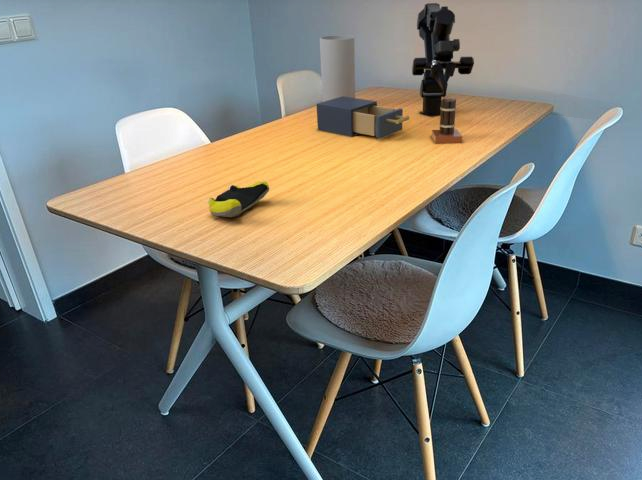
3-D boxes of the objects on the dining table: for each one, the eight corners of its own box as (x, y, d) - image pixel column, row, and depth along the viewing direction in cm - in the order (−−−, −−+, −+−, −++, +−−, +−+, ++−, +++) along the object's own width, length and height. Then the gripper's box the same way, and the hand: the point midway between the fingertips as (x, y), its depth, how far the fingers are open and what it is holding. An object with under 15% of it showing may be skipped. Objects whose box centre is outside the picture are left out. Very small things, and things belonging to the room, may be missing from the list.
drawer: (414, 132, 177) (415, 110, 174) (391, 141, 169) (392, 119, 165) (369, 123, 187) (369, 103, 184) (345, 132, 179) (345, 110, 176)
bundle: (435, 132, 172) (437, 99, 167) (446, 130, 174) (448, 97, 169) (446, 135, 168) (448, 102, 164) (457, 133, 171) (459, 100, 166)
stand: (431, 136, 176) (431, 129, 175) (456, 135, 176) (457, 129, 175) (435, 143, 169) (435, 136, 168) (461, 142, 169) (462, 136, 168)
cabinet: (376, 127, 186) (377, 101, 182) (351, 136, 177) (350, 109, 173) (343, 121, 195) (343, 96, 190) (317, 129, 186) (316, 103, 181)
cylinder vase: (362, 107, 213) (361, 36, 200) (339, 113, 205) (337, 40, 193) (338, 102, 220) (336, 34, 208) (316, 108, 212) (312, 38, 200)
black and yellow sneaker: (274, 202, 131) (239, 196, 135) (272, 180, 128) (236, 175, 132) (237, 227, 119) (200, 220, 123) (234, 203, 116) (196, 196, 120)
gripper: (414, 29, 169) (417, 74, 165) (475, 28, 169) (479, 73, 165) (410, 53, 180) (413, 95, 176) (468, 51, 180) (472, 94, 176)
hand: (444, 89), depth 173 cm, fingers closed
